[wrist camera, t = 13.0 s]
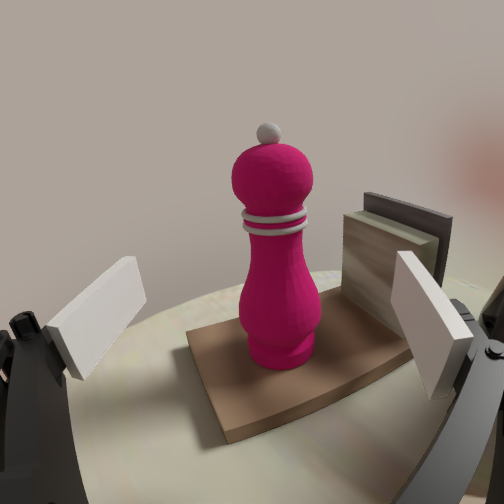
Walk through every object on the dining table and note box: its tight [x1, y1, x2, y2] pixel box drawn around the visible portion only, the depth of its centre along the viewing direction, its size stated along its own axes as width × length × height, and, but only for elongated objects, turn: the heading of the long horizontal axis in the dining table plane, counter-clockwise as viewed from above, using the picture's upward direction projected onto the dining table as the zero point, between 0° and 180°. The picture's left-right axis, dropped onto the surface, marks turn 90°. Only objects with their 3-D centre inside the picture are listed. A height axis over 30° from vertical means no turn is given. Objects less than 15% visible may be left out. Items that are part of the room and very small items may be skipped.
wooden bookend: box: [186, 192, 453, 444], centre depth 27 cm, size 24×14×14 cm, turn 112°
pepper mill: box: [232, 123, 321, 370], centre depth 24 cm, size 7×7×20 cm
